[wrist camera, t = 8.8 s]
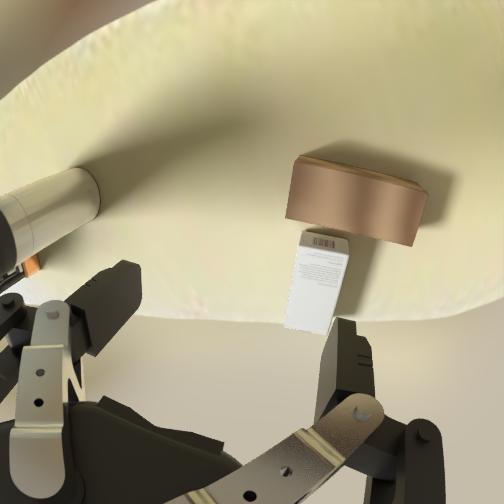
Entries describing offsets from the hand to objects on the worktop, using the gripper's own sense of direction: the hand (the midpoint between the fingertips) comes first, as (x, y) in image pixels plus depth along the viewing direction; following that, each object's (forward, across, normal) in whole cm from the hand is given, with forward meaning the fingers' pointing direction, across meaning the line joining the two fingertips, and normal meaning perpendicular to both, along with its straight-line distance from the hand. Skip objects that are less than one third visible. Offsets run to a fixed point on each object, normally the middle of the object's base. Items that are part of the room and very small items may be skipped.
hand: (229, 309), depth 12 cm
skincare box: (+24, -5, +6) cm, 25 cm away
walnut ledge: (+26, -7, 0) cm, 27 cm away
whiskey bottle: (+28, +53, +23) cm, 65 cm away
